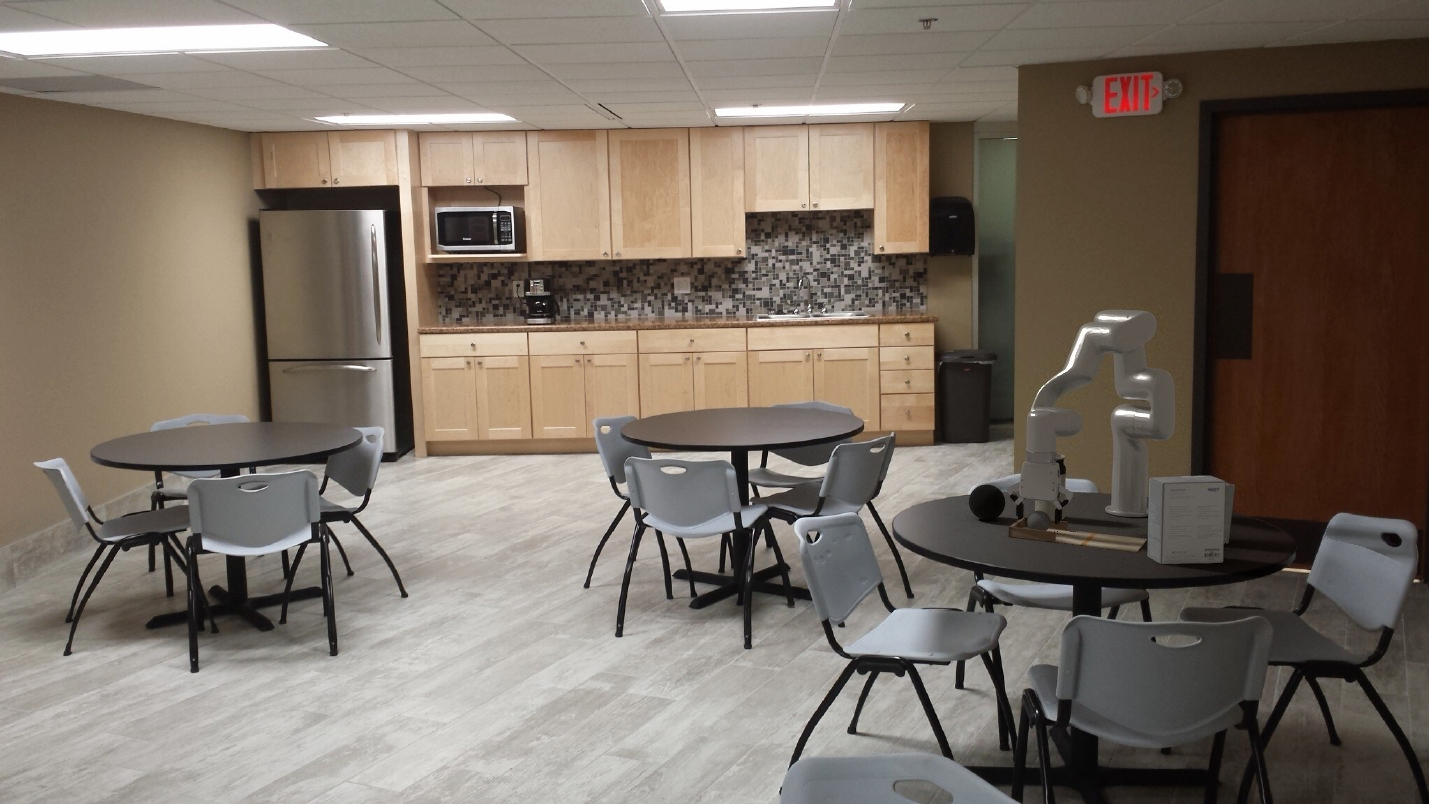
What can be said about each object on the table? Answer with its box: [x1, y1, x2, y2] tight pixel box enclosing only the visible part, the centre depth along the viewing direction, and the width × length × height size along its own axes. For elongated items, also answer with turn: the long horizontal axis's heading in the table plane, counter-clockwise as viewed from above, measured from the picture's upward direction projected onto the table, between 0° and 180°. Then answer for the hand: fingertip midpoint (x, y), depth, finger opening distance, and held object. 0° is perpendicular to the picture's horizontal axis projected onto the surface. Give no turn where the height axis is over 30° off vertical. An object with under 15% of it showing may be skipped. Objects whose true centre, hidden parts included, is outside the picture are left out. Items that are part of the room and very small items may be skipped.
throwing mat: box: [1008, 516, 1148, 553], centre depth 280 cm, size 14×32×3 cm, turn 59°
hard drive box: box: [1147, 475, 1227, 565], centre depth 257 cm, size 16×8×20 cm, turn 92°
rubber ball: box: [1027, 510, 1051, 531], centre depth 285 cm, size 6×6×6 cm
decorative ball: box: [968, 483, 1006, 521], centre depth 302 cm, size 10×10×10 cm
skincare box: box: [1224, 482, 1236, 545], centre depth 276 cm, size 8×7×16 cm
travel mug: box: [1034, 453, 1067, 520], centre depth 302 cm, size 8×8×18 cm
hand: (1038, 521), depth 285 cm, fingers open, 9 cm apart
